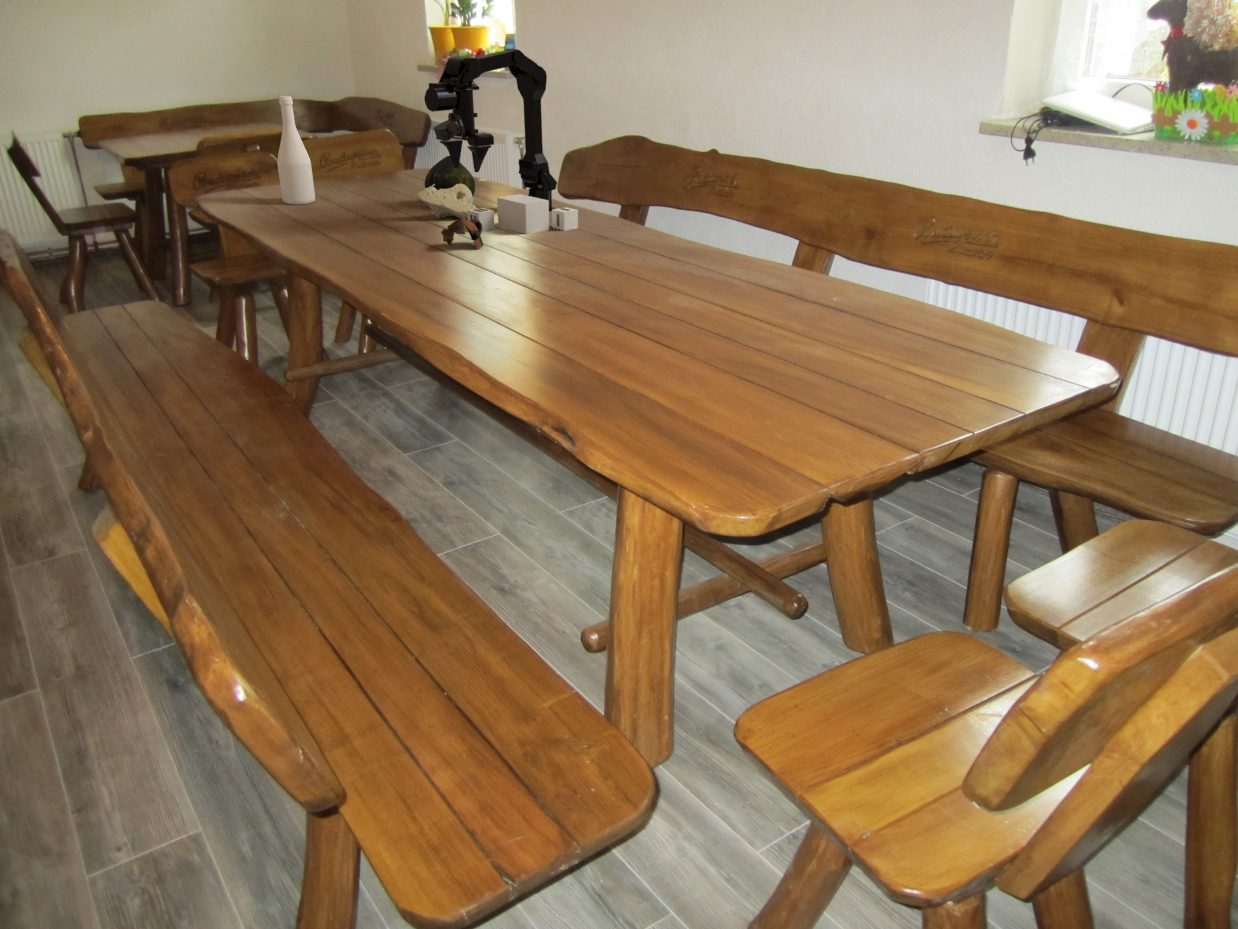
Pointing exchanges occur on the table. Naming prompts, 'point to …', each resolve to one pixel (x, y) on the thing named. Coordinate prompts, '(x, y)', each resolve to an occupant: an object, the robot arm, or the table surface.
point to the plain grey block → (523, 213)
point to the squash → (449, 176)
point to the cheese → (448, 200)
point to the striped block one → (565, 218)
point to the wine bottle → (293, 161)
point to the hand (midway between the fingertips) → (466, 169)
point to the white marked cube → (483, 217)
